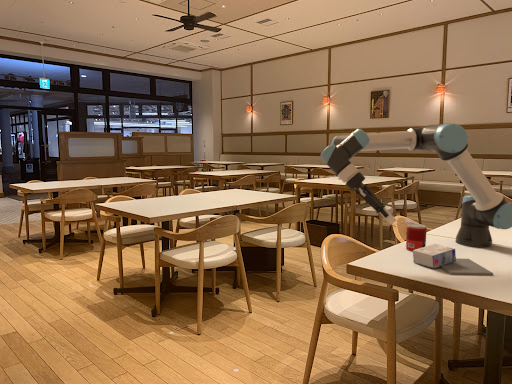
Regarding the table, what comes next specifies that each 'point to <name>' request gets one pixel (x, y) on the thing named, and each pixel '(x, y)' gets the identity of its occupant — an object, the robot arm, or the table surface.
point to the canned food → (415, 236)
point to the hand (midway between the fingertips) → (393, 222)
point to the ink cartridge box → (434, 256)
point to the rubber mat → (465, 268)
